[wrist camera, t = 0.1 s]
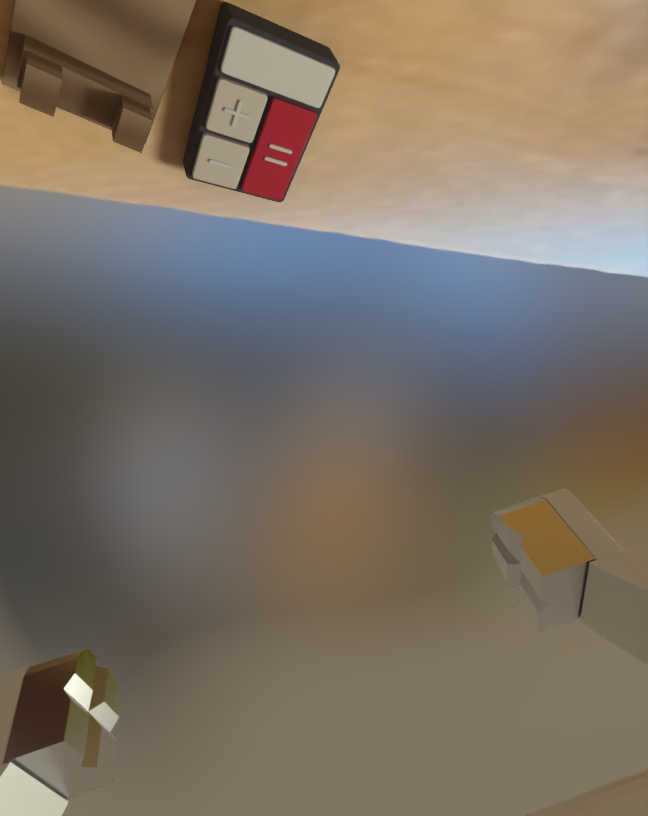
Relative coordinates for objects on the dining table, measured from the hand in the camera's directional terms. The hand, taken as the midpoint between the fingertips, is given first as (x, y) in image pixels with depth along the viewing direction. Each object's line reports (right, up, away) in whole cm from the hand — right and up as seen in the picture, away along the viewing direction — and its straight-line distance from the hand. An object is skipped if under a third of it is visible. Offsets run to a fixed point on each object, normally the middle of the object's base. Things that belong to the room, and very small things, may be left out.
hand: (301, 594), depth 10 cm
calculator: (-7, +34, +43) cm, 55 cm away
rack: (-17, +37, +32) cm, 52 cm away
